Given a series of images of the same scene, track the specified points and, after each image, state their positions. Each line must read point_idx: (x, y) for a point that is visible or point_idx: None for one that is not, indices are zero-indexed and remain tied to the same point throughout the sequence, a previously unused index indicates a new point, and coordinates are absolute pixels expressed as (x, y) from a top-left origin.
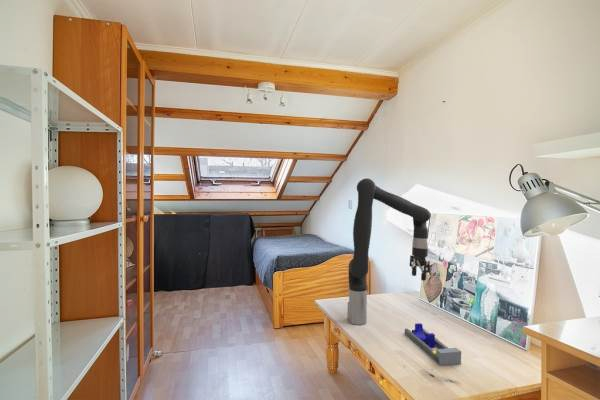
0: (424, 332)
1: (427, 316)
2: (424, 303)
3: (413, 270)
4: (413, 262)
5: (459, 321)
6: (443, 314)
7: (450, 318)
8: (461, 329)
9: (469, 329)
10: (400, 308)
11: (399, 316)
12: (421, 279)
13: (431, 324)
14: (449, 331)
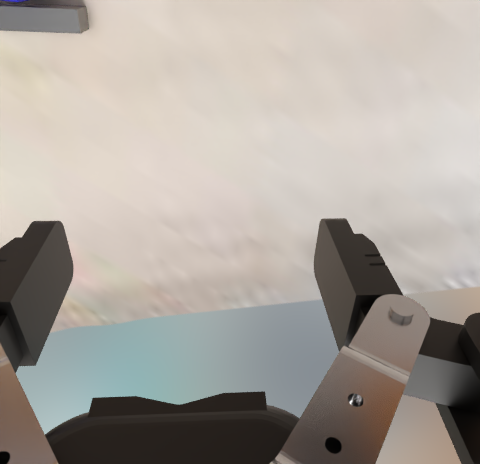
0: (5, 6)
1: (299, 200)
2: (451, 278)
3: (344, 285)
4: (349, 438)
5: (209, 301)
6: (298, 284)
7: (248, 286)
8: (124, 261)
9: (122, 291)
10: (459, 111)
11: (351, 25)
12: (47, 223)
13: (196, 159)
14: (103, 198)
